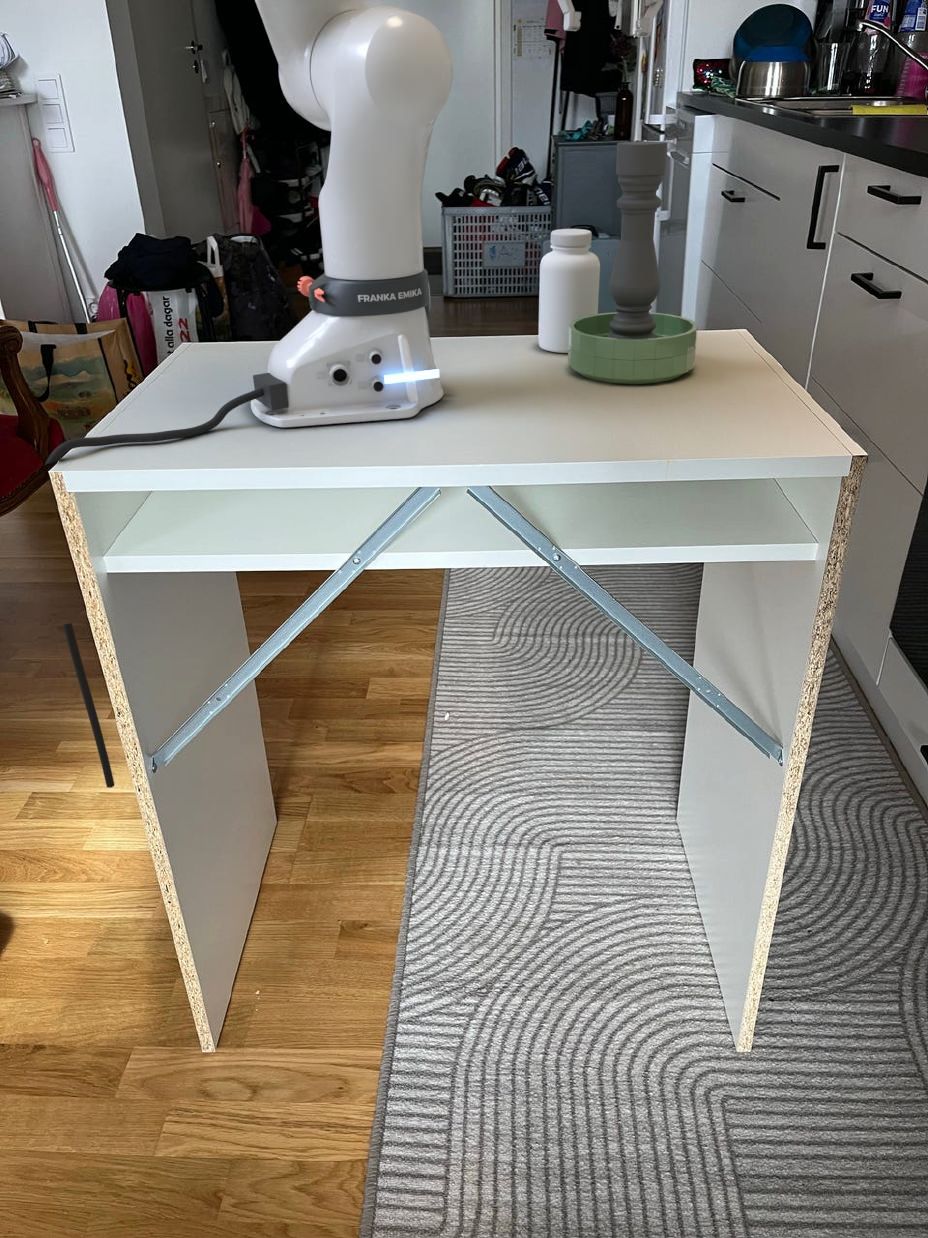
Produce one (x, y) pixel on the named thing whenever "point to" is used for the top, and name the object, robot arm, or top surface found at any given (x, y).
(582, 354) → the bowl
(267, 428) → the top surface
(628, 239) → the candle holder
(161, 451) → the top surface
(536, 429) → the top surface
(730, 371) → the top surface
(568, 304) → the pill bottle
